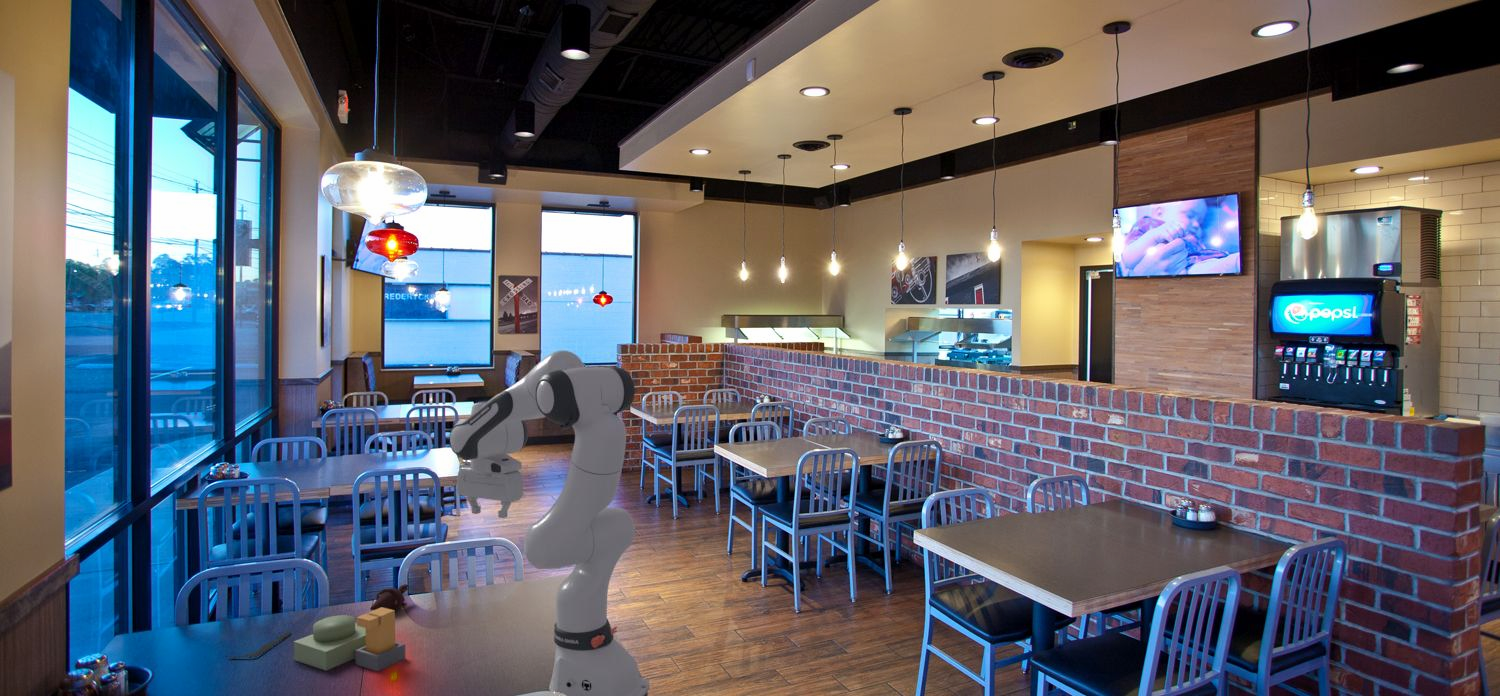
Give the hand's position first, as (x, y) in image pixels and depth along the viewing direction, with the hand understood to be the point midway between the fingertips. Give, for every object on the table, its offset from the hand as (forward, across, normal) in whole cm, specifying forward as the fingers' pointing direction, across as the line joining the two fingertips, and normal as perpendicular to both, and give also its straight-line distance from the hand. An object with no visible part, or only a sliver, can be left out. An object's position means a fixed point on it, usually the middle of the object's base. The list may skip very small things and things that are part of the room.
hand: (489, 515), depth 198 cm
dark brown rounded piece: (+30, -35, -4) cm, 46 cm away
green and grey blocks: (+31, -18, -27) cm, 44 cm away
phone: (+31, -44, -33) cm, 63 cm away
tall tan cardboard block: (+31, -10, -26) cm, 41 cm away
